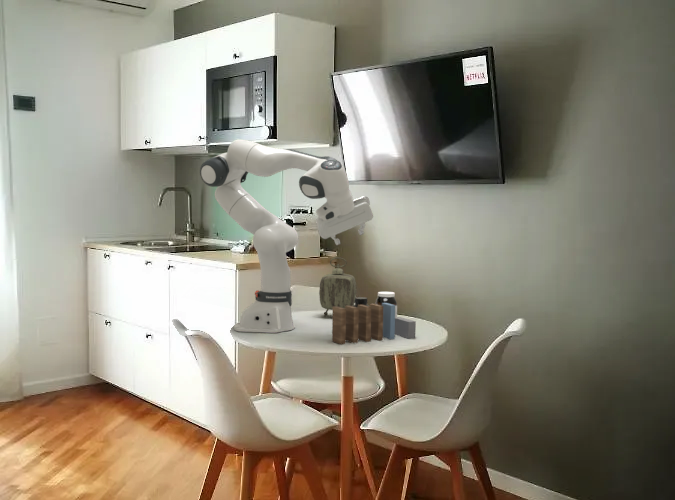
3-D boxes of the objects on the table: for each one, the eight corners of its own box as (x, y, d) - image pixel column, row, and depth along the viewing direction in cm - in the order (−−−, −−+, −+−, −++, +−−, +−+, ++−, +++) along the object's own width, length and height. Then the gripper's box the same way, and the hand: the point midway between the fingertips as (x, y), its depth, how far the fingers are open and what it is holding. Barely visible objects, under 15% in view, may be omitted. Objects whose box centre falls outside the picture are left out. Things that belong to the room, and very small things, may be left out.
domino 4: (378, 340, 236) (379, 306, 235) (369, 337, 241) (369, 303, 240) (382, 340, 236) (383, 306, 236) (373, 337, 242) (374, 303, 241)
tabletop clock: (355, 316, 284) (357, 256, 282) (353, 320, 275) (354, 258, 273) (321, 314, 286) (322, 255, 284) (318, 318, 277) (319, 257, 275)
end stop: (408, 338, 239) (408, 322, 239) (392, 333, 248) (392, 317, 248) (415, 338, 241) (415, 321, 240) (399, 333, 250) (399, 316, 249)
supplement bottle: (372, 328, 257) (373, 297, 256) (365, 332, 250) (366, 299, 250) (355, 327, 259) (356, 296, 259) (348, 330, 253) (349, 298, 252)
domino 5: (390, 339, 238) (391, 305, 237) (381, 336, 243) (381, 303, 242) (394, 338, 239) (395, 305, 238) (385, 335, 244) (385, 302, 243)
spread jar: (399, 323, 269) (399, 294, 269) (372, 324, 266) (373, 294, 265) (388, 318, 281) (389, 290, 280) (362, 319, 278) (363, 290, 277)
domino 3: (366, 341, 233) (366, 307, 232) (357, 338, 238) (357, 304, 237) (370, 341, 234) (371, 307, 233) (361, 338, 239) (362, 304, 238)
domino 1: (340, 344, 228) (341, 309, 227) (332, 341, 234) (332, 306, 233) (345, 344, 229) (345, 308, 228) (336, 340, 234) (337, 306, 233)
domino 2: (353, 343, 231) (354, 308, 230) (344, 339, 236) (345, 305, 235) (358, 342, 232) (358, 307, 231) (349, 339, 237) (349, 305, 236)
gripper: (364, 191, 239) (371, 224, 246) (311, 212, 234) (321, 246, 241) (371, 197, 234) (379, 231, 241) (318, 219, 229) (327, 253, 236)
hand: (349, 239), depth 241 cm, fingers open, 8 cm apart
